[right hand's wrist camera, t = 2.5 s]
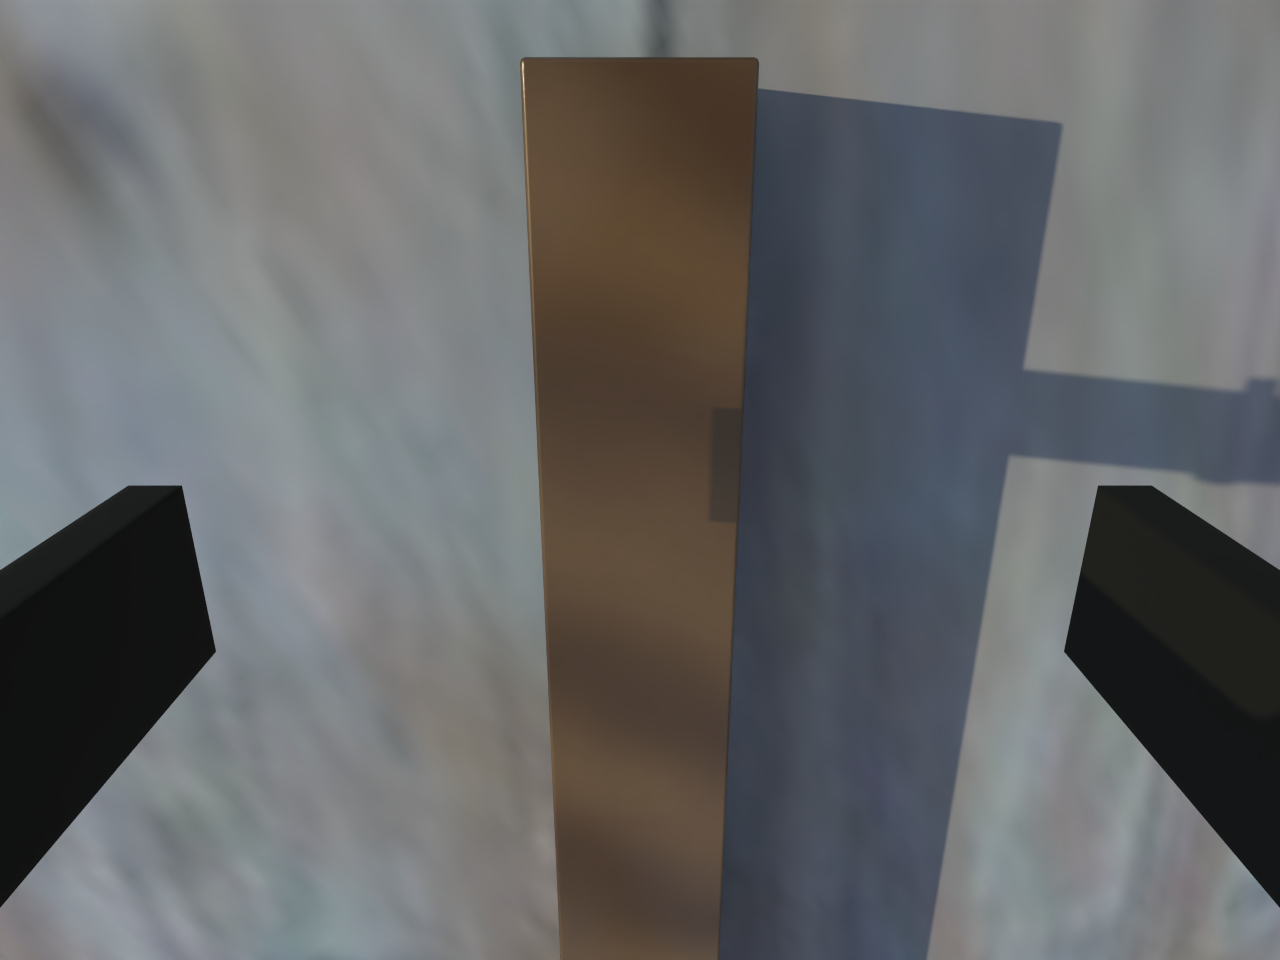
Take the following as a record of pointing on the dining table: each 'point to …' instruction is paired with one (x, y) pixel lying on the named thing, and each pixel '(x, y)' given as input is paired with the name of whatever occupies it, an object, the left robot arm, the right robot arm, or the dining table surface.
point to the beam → (639, 477)
